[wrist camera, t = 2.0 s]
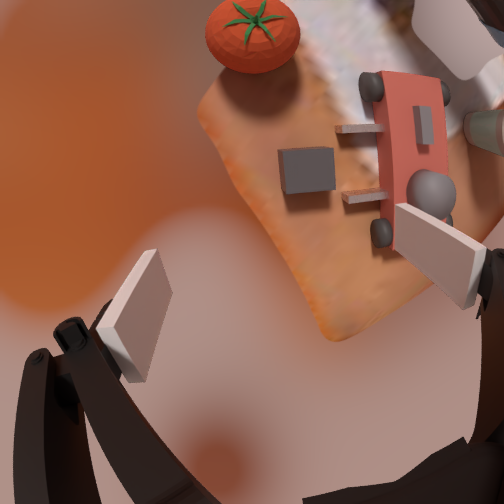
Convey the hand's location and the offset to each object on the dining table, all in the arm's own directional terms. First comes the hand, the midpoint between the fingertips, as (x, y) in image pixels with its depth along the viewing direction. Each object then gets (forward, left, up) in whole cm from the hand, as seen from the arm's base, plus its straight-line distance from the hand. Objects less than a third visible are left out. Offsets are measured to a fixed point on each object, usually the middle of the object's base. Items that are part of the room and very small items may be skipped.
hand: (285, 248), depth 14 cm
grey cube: (-1, +6, -22) cm, 23 cm away
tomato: (-18, +2, -22) cm, 29 cm away
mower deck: (-1, +22, -22) cm, 31 cm away
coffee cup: (-6, +38, -22) cm, 45 cm away
